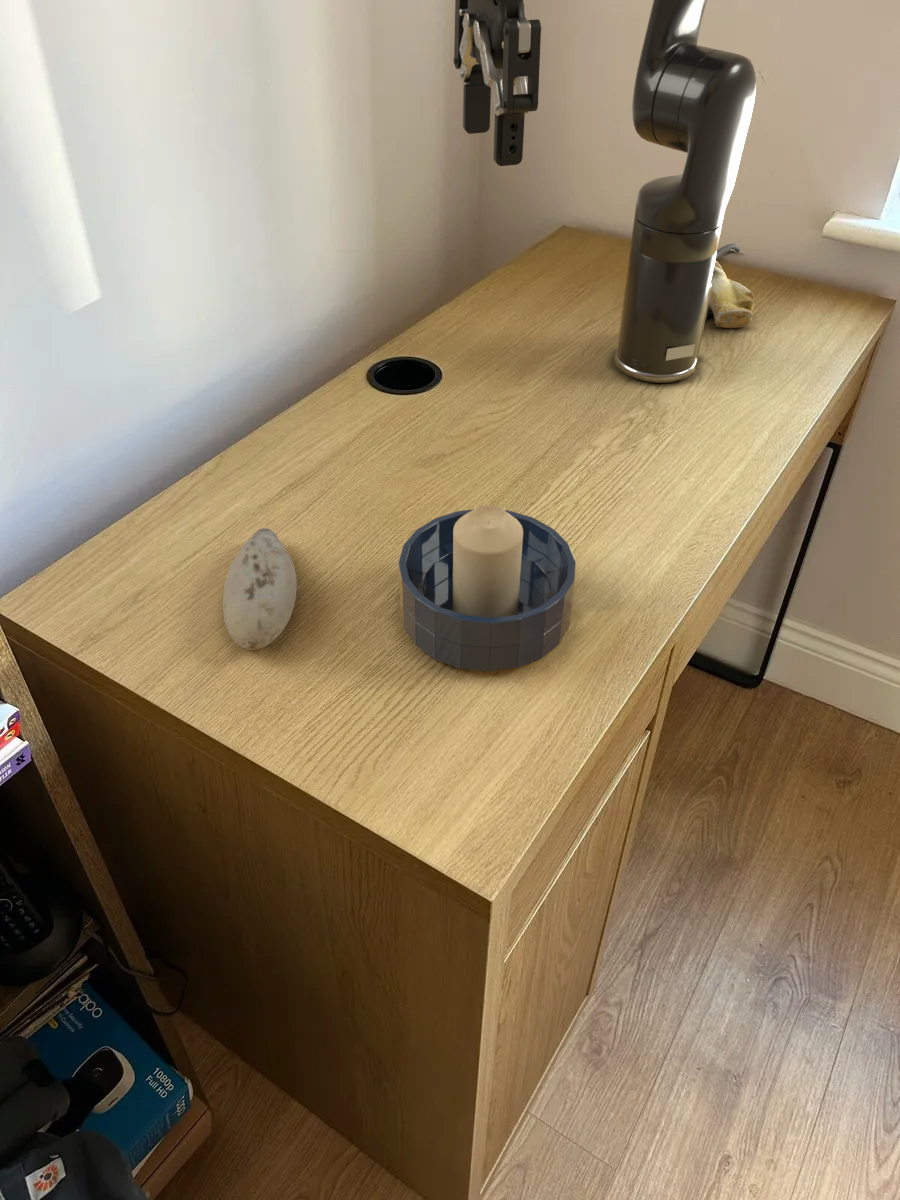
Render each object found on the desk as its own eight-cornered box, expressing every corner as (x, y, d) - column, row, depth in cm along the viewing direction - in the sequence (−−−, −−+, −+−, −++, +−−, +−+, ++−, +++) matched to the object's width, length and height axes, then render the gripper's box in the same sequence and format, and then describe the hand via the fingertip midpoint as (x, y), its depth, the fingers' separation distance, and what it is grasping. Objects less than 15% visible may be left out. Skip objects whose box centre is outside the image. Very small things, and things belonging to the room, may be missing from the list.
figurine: (769, 311, 119) (734, 246, 129) (735, 296, 117) (702, 231, 127) (742, 344, 123) (710, 278, 132) (709, 330, 121) (679, 264, 130)
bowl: (480, 541, 89) (482, 488, 85) (602, 614, 82) (611, 560, 78) (367, 616, 82) (363, 562, 78) (490, 704, 75) (493, 649, 71)
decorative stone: (298, 542, 89) (294, 512, 87) (298, 661, 78) (294, 630, 76) (231, 546, 89) (226, 517, 86) (221, 667, 77) (214, 636, 75)
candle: (512, 636, 79) (518, 542, 72) (446, 627, 80) (446, 532, 73) (522, 592, 83) (528, 499, 76) (459, 584, 84) (460, 490, 77)
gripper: (584, -79, 65) (564, 172, 76) (516, -106, 75) (507, 118, 86) (477, -74, 63) (473, 180, 74) (422, -103, 73) (425, 125, 84)
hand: (491, 147), depth 80 cm, fingers open, 8 cm apart
